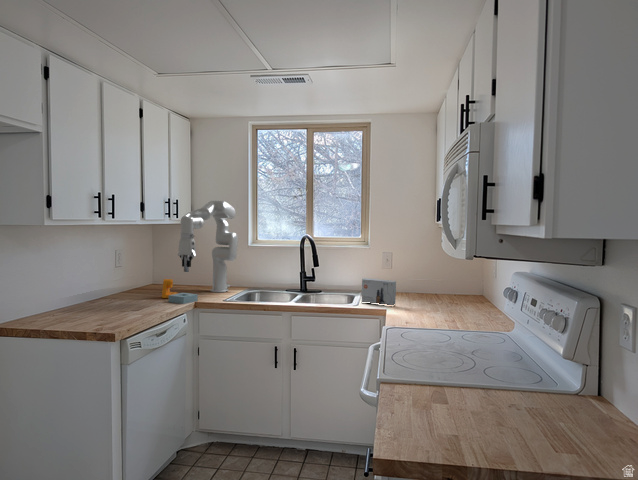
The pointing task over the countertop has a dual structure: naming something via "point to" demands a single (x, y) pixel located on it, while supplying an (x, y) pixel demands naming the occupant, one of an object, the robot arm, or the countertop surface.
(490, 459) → the countertop surface
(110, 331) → the countertop surface
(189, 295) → the socket block
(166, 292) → the bracket
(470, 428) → the countertop surface
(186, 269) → the peg
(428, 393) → the countertop surface
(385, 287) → the skincare box
